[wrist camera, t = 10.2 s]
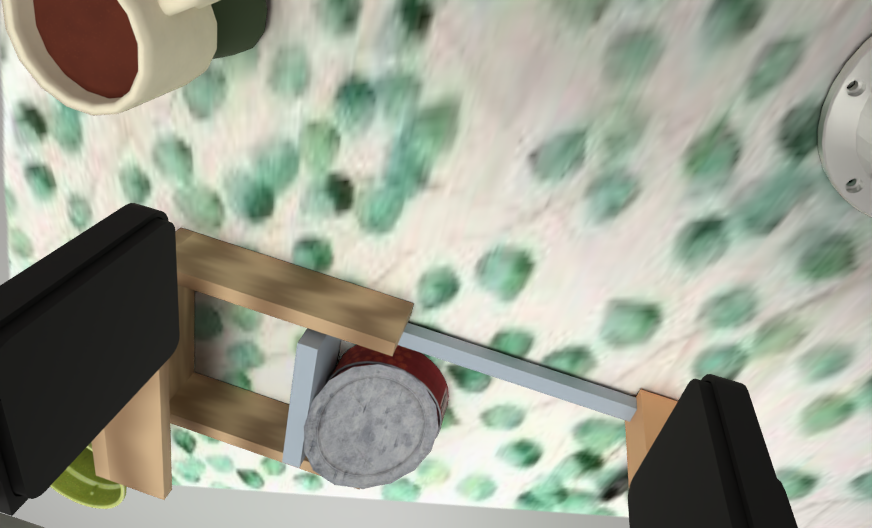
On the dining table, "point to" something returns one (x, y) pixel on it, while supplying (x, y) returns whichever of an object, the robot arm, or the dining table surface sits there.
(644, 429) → the pull rod
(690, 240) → the dining table surface
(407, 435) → the canned food
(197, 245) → the shelf lane
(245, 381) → the dining table surface
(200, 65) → the character mug
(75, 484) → the plant pot
